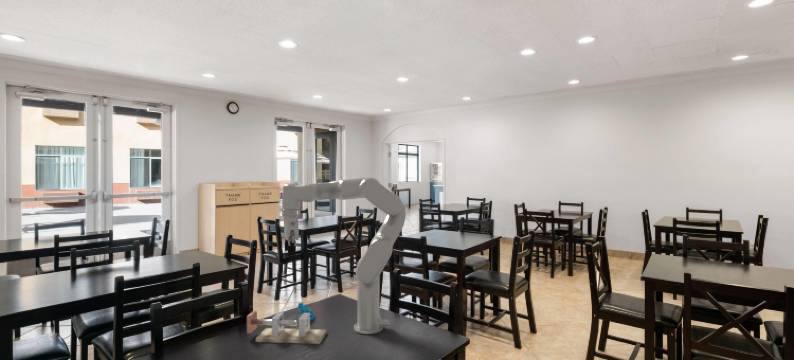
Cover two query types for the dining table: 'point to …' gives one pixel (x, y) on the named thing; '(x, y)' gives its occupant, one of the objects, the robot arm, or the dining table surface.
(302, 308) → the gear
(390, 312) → the dining table surface
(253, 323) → the shaft
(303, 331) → the bearing blocks
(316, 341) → the base plate
